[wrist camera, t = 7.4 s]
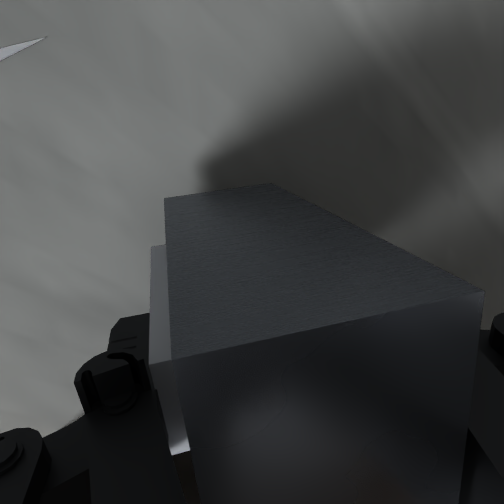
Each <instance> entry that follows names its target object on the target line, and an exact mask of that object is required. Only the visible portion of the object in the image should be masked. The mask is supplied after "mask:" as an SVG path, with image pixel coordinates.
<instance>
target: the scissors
mask: <svg viewBox="0 0 504 504" xmlns="http://www.w3.org/2000/svg"><path fill="white" fill-rule="evenodd" d="M45 38H46V37H45ZM42 39H44V38H40V39H36V40H32V41H28V42H24V43H20V44H16V45H12V46H8V47H4V48H0V61H2V60H4V59H6V58H8V57H10V56H12V55H14V54H16V53H18V52H19V51H21V50H23V49H25V48H27V47H29V46H31V45H33V44H35V43H37V42H38V41H40V40H42Z"/></svg>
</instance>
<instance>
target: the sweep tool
mask: <svg viewBox="0 0 504 504" xmlns="http://www.w3.org/2000/svg"><path fill="white" fill-rule="evenodd" d="M164 211H165V233H166V254H167V276H168V297H169V319H170V340H171V360H172V365H173V370H174V375H175V380H176V385H177V389H178V394H179V399H180V404H181V409H182V413H183V418H184V423H185V428H186V433H187V438H188V442H189V447H190V452H191V457H192V462H193V467H194V471H195V476H196V481H197V486H198V491H199V495H200V500H201V504H458V503H459V495H460V487H461V479H462V471H463V463H464V455H465V447H466V439H467V431H468V423H469V415H470V407H471V398H472V390H473V382H474V374H475V366H476V358H477V350H478V342H479V334H480V326H481V318H482V310H483V302H484V294H485V291H484V290H482V289H480V288H478V287H476V286H474V285H472V284H470V283H468V282H466V281H464V280H462V279H460V278H458V277H456V276H454V275H452V274H450V273H448V272H446V271H444V270H442V269H440V268H438V267H436V266H434V265H432V264H430V263H428V262H426V261H424V260H422V259H421V258H419V257H417V256H415V255H413V254H411V253H409V252H407V251H405V250H403V249H401V248H399V247H397V246H395V245H393V244H391V243H389V242H387V241H385V240H383V239H381V238H379V237H377V236H375V235H373V234H371V233H369V232H367V231H365V230H363V229H361V228H359V227H357V226H355V225H353V224H351V223H349V222H347V221H345V220H343V219H341V218H339V217H337V216H335V215H333V214H332V213H330V212H328V211H326V210H324V209H322V208H320V207H318V206H316V205H314V204H312V203H310V202H308V201H306V200H304V199H302V198H300V197H298V196H296V195H294V194H292V193H290V192H288V191H286V190H284V189H282V188H280V187H278V186H276V185H274V184H272V183H268V184H261V185H254V186H247V187H240V188H233V189H226V190H219V191H212V192H204V193H197V194H190V195H183V196H176V197H169V198H164Z"/></svg>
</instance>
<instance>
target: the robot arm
mask: <svg viewBox="0 0 504 504" xmlns="http://www.w3.org/2000/svg"><path fill="white" fill-rule="evenodd" d="M74 385H75V387H76V390H77V393H78V396H79V398H80V401H81V404H82V407H83V409H84V412H85V415H83V416H82V417H81V418H79V419H78V420H77V421H75V422H73V423H72V424H70V425H68V426H66V427H64V428H62V429H60V430H58V431H56V432H54V433H52V434H50V435H48V436H46V437H43V438H42V437H41V435H40V433H39V431H37V430H34V429H31V428H16V429H13V430H10V431H7V432H4V433H1V434H0V504H186V500H185V497H184V494H183V491H182V487H181V484H180V481H179V478H178V474H177V471H176V468H175V464H174V461H173V458H172V455H175V454H178V453H182V452H186V451H190V447H189V442H188V438H187V433H186V428H185V423H184V418H183V413H182V409H181V404H180V399H179V394H178V389H177V385H176V380H175V375H174V370H173V365H172V360H171V340H170V319H169V297H168V276H167V254H166V244H165V245H159V246H153V247H151V279H150V313H146V314H141V315H135V316H130V317H125V318H120V319H119V321H118V322H117V323H116V324H115V326H114V327H113V328H112V329H111V333H110V338H109V344H108V349H107V351H106V352H104V353H101V354H99V355H97V356H95V357H93V358H92V359H90V360H89V361H87V362H86V363H85V364H83V366H82V367H81V368H80V369H79V371H78V372H77V373H76V376H75V380H74ZM458 504H504V313H501V314H499V315H497V316H495V317H494V319H493V322H492V326H491V330H480V334H479V342H478V350H477V358H476V366H475V374H474V382H473V390H472V398H471V407H470V415H469V423H468V431H467V439H466V447H465V455H464V463H463V471H462V479H461V487H460V495H459V503H458Z"/></svg>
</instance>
